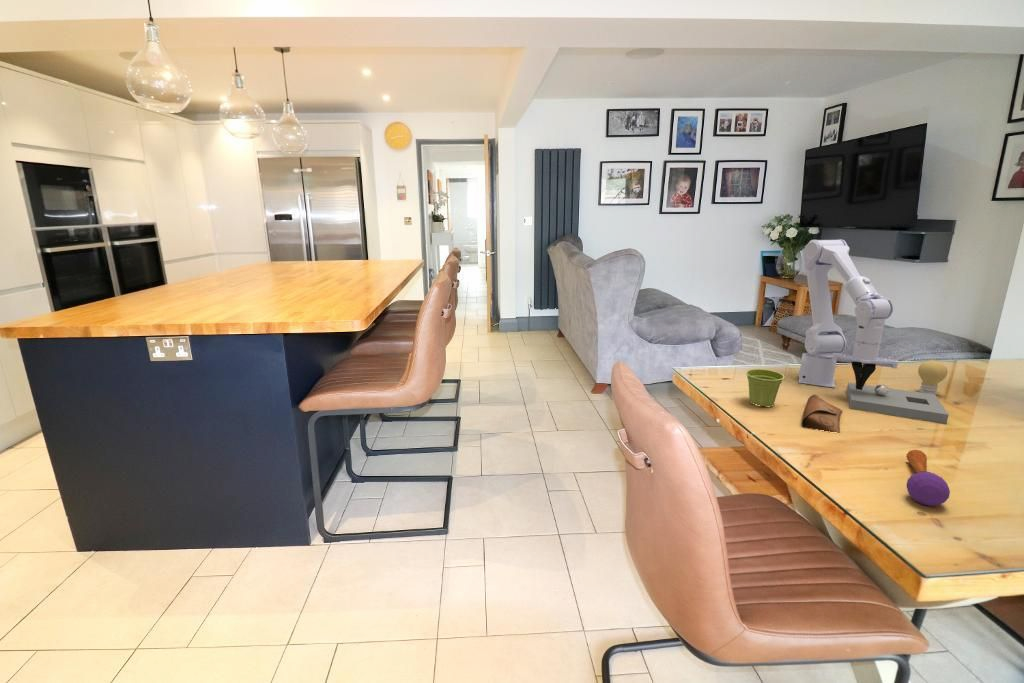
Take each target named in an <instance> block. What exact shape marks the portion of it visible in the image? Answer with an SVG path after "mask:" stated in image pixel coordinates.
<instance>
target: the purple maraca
mask: <svg viewBox="0 0 1024 683" xmlns="http://www.w3.org/2000/svg"><path fill="white" fill-rule="evenodd" d="M905 457H906V460H907V461H908V463H909V464H910V465H911V467H912V468H913V470H915V473H914V474H912V475H910V477H909V478H907V480H906V486H905V487H906V489H907V492H908V495H909V496H910V497H911V498H912V500H914V501H915V502H917V503H919V504H920V505H924V506H929V507H934V506H935V507H936V506H937V507H938V506H940V505H943V504H944V503H945V502H947V500H948V499H949V498H950V494H951V490H950V487H949V485H948V483H947V481H946V480H945V479H943V477H942V476H940V475H937V474H936V473H933V472H930V471H927V467H928V466H927V463H928V462H927V461H928V460H927V459H928V458H927V455H926V453H925V452H923V451H921V450H919V449H911V450H909V451H908V452H907V453H906V456H905Z"/></svg>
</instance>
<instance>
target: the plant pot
mask: <svg viewBox="0 0 1024 683" xmlns="http://www.w3.org/2000/svg"><path fill="white" fill-rule="evenodd" d="M745 374H746V376H747V377H746V378H747V380H748V396H749V398H748V400H750V401H749V403H750V402H752V403H754V404H757V405H760V407H764V406H772V405H773V406H774V405H775V402H776V399H777V395H778V392H779V389H780V385H781V384H782V382H783V381H784V379H785V375H784V374H782V373H781V372H779V371H775V370H772V369H771V370H770V369H762V368H752V369H748V370H747V371H745ZM773 406H772V407H773Z"/></svg>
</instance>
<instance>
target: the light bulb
mask: <svg viewBox="0 0 1024 683" xmlns="http://www.w3.org/2000/svg"><path fill="white" fill-rule="evenodd" d="M917 373H918V376H919V378H920V379H921V381H922V382H921V383H920V389H919V392H921V393H928V394H935V395H937V391H938V388H939V384H940V383H941V382H943V381H944V380H945V379H946V378H947V375H948V367H947V366H946V365H945V364H944V363H942V362H940V361H937V360H927V361H922V363H921V364H919V366H918V370H917Z"/></svg>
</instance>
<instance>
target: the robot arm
mask: <svg viewBox="0 0 1024 683" xmlns="http://www.w3.org/2000/svg"><path fill="white" fill-rule="evenodd" d="M803 259H804V265H805V270H806V271H805V272H806V280H807V287H808V294H809V301H810V302H809V304H810V310H811V311H810V312H811V317H812V324H813V325H812V326H811V327H809V328H808V329H807V330H806V331H805V332H804V333H805V340H804V348H805V350H806V352H803V353H802V355H801V361H800V368H799V369H798V373H797V375H798V383H800V384H806V385H812V386H820V387H827V388H833V389H834V388H836V386H835V372H836V366H837V362H843V363H851V364H850V365H851V367H852V370H853V374H854V378H855V383H856V389H859V390H862V389H863V386H864V385H866V382H867V381H868V380H869V378H870V377H871V376H872V374H873V373H874V372H875V371H876V368H877V366H878V367H885V368H892V369H895V370H896V369H897V368H898V365H899V364H898V363H899V361H898V360H897V359H890V358H885V357H880V356H879V353H880V348H881V343H882V338H883V332H884V326H885V323H886V322H885V321H886V320H887V319H889V318H890V317H891V316H892V314H893V312H894V306H893V303H892V301H891V299H890V298H888V297H884V296H883V295H880V293H879V292H878V291H877V290H876V288H875V287H874V285H873V284H872V281H871V279H870V278H868V277H867V276H861V275H860V273H859V271H858V269H857V268H856V266H855V264H854V262H853V260H852V258H851V257H850V246H848V243H847V242H846V240H844V239H842V238H841V239H812V240H810V241H809V242H808V243H807V244H806V246H805V248H804V249H803ZM834 268H835V269H836V271H837V272H838V273H839V274H840V275H841V277H842V278H843V280H844V281H845V282H846V283H845V284H846V285H845V288H844V289H845V291H846V292H847V293H848V294H849V297H850V298H851V300H852V301H853V302H854V304H855V307H854V314H855V317H856V320H855V323H856V325H857V327H856V332H855V333H856V334H855V338H854V343H853V349H852V353H844V352H845V351H846V348H847V340H846V337H845V335H844V332H843V328H841V326H839V325H838V324H837V323H835V322H834V321H835V319H834V313H833V307H832V301H831V300H832V299H831V293H830V292H831V291H830V284H829V278H828V272H829V271H830V270H832V269H834Z"/></svg>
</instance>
